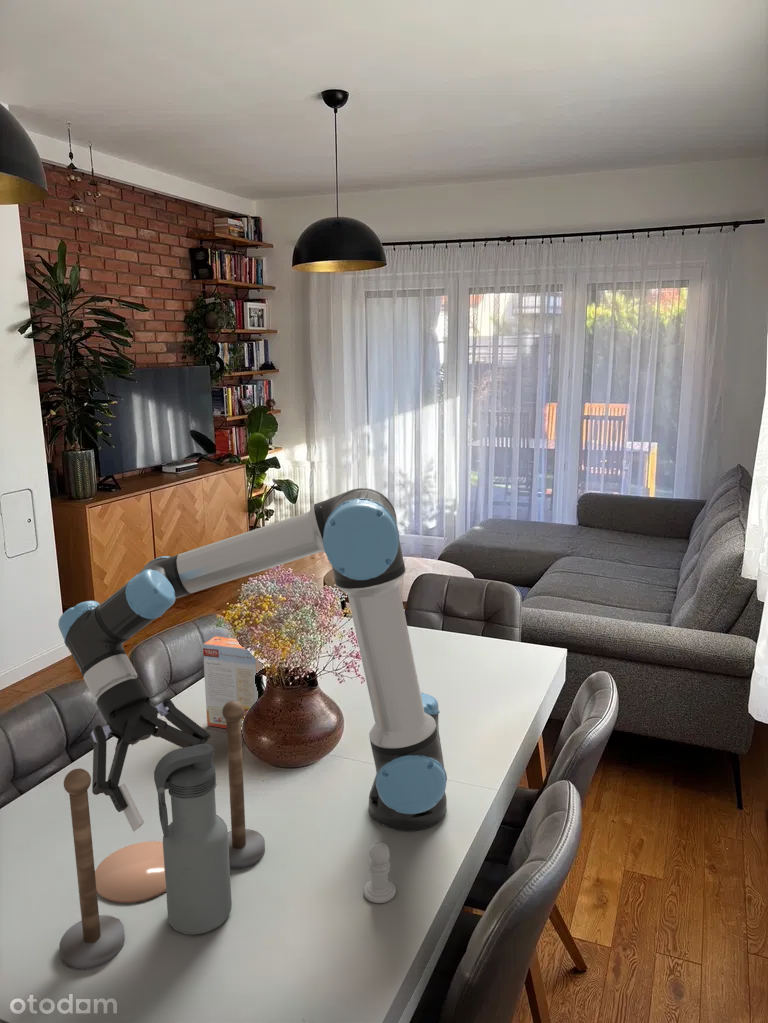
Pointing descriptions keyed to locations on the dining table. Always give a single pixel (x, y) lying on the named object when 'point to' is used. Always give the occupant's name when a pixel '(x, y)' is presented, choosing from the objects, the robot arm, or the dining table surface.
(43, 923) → the dining table surface
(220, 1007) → the dining table surface
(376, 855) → the chess piece
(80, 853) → the walnut post
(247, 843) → the walnut post
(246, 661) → the cracker box
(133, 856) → the glossy peach dome
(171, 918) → the water bottle
